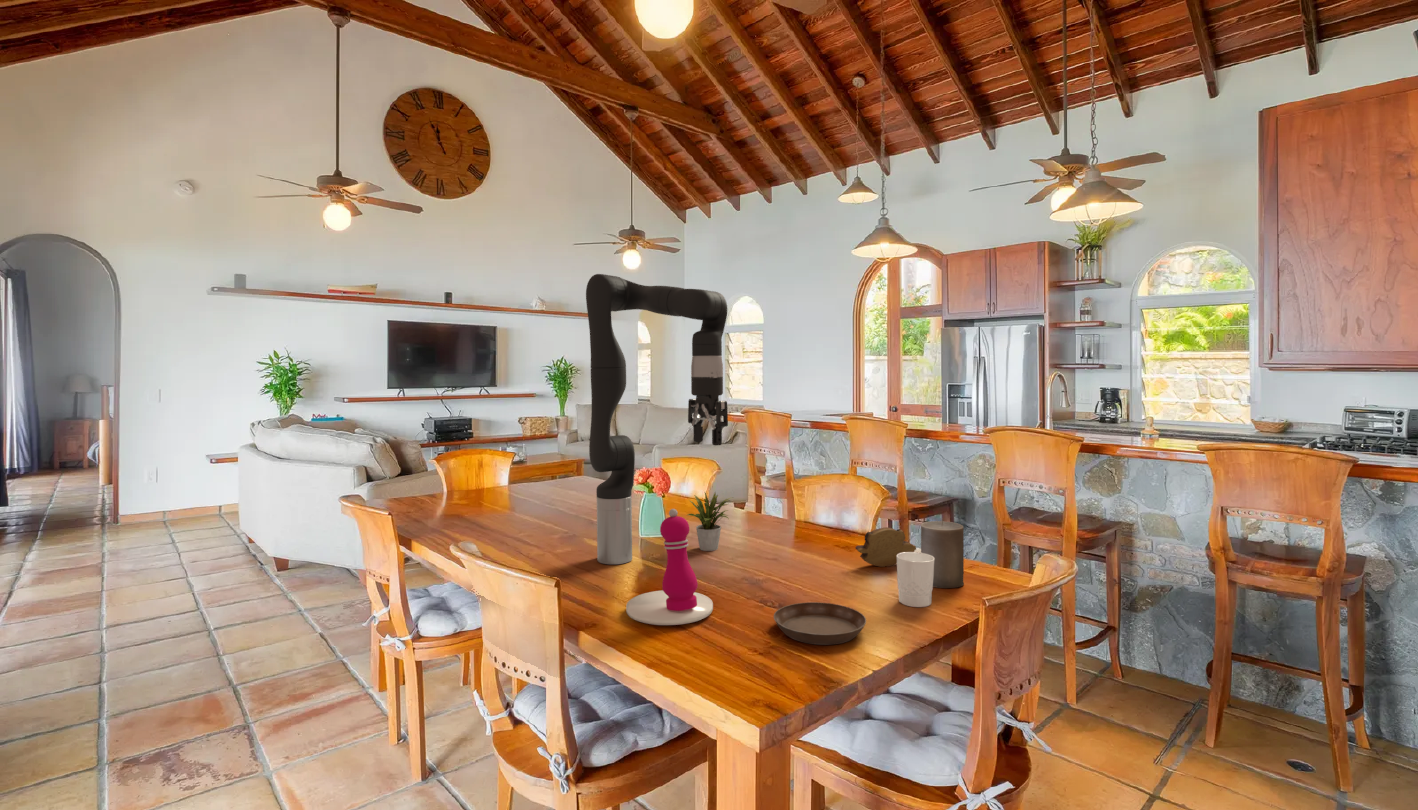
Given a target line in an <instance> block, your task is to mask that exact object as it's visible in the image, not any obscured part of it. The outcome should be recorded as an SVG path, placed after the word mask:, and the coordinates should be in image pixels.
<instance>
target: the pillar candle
mask: <svg viewBox="0 0 1418 810" xmlns="http://www.w3.org/2000/svg"><path fill="white" fill-rule="evenodd" d="M964 533H965V532H964V525H963V524H960V523H957V522H953V521H945V520H944V519H942V520H940V521H939V520H933V521H925V522H922V523H921V524H920V553H925V554H929V555H931V556H933V557H934V558H935V560H934V577H933V588H939V589H953V588H954V589H955V588H961V587H962V586H964V584H965V582H964V574H965V573H964V563H965V562H964V558H965V557H964V555H965V554H964V546H965V545H964V540H965V539H964V538H965V537H964V535H965V534H964Z"/></svg>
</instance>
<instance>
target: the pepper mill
mask: <svg viewBox="0 0 1418 810" xmlns="http://www.w3.org/2000/svg"><path fill="white" fill-rule="evenodd" d="M668 514H669V517H666V518H664V519H663V520H662V522H661V524H660V526H659V527H660V528H659V531H660V535H661V537H662V538H663V539H664V541H663V545H664V549H665V550H666V555H667V558H666V559H667V562H666V568H665V572H664V575H663V576H662V577H663V578H662V584H661V585H662V587H661V588H662V590H663V591H664V593H665V594H666V595H667V596H668V597H669V598H667V599H666V605H667V609H668V610H673V611H681V610H688V609H691V608H694V607H696V606H697V598H696V596H695V595H693V594H694V592H696V591H697V589H698V588H699V587H698V578H697V576H696V573H695V571H694V570H693V567H692V566H691V563H690V562H689V559H688V557H689V556H688V547H689V540H688V539H687V536H688V535H689V533H690V525H689V522H688V521H687V519H686V518H684V517H682V516H679V515H678V511H677V509H675V508H671V509H670V510H669V511H668Z"/></svg>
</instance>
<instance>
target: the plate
mask: <svg viewBox="0 0 1418 810" xmlns="http://www.w3.org/2000/svg"><path fill="white" fill-rule="evenodd" d="M693 595H695V596H696V598H697V606H696V607H694V608H691V609H688V610H681V611H673V610H668V609H667V605H666V599H667V598H669V597H668V596H667V595H666V594H665V593H664V591H663V589H662V590H655V591H654V590H653V591H649V592H645V593H641V594H639V595H636V596H634V597H632V598H631V599H629V600H628V601H627V602H626V608H625V610H626V611H625V612H626V615H627V616H628V617H629V618H631V619H632V620H635V621H636V622H640V623H644V624H647V625H648V624H649V625H654V626H676V625H677V626H678V625H686V624H690V623H695V622H698V621H702V619H705V618H707V617H709V616H710V615H711V614H712V612H713V610H714V603H713V600H712V599H711V598H710V597H709V596H707V595H704V594H702V593H699V592H696V591H695V592H694V594H693Z"/></svg>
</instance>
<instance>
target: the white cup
mask: <svg viewBox="0 0 1418 810" xmlns="http://www.w3.org/2000/svg"><path fill="white" fill-rule="evenodd" d="M896 557H897V563H896V575H897V578H896V580H897V590H898V601H899V603H901V604H902V605H904V606H907V607H913V608H926V607H929V606H931V605H932V597H933V596H932V595H933V594H932V592H933V589H934V587H933V577H934V560H935V558H934V557H933V556H931V555H929V554H925V553H921V552H919V551H918V552H916V551H914V552H903V553H899V554H897V556H896Z"/></svg>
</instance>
